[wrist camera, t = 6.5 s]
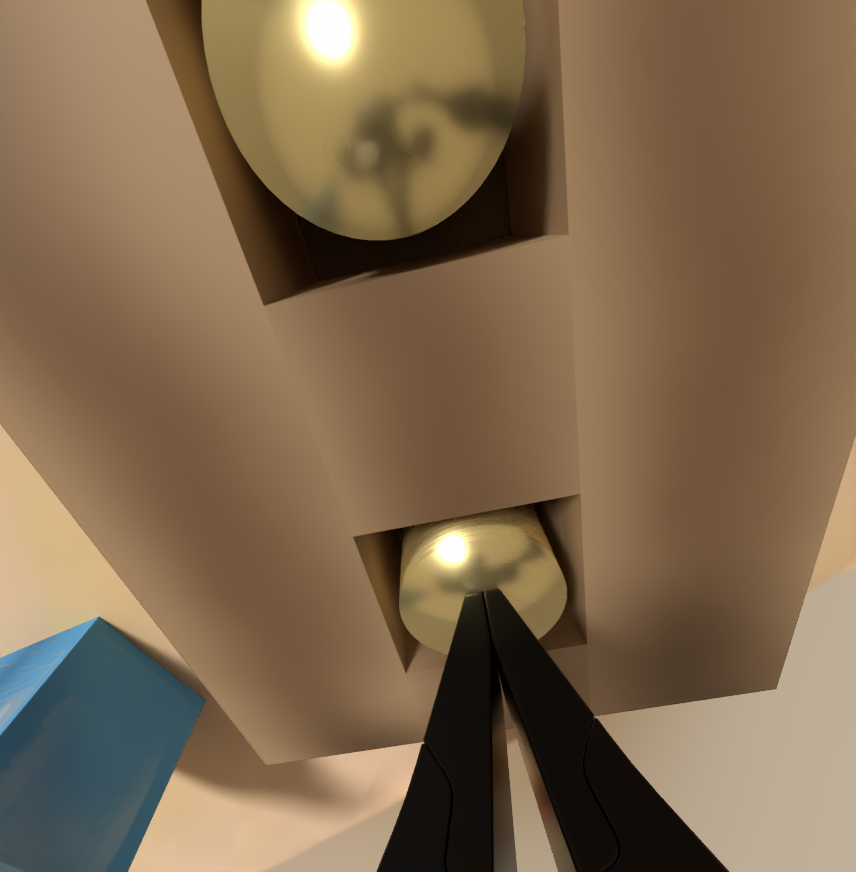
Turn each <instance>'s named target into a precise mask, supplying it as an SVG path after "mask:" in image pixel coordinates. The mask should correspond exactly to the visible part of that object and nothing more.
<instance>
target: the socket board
mask: <svg viewBox="0 0 856 872" xmlns="http://www.w3.org/2000/svg"><path fill="white" fill-rule="evenodd" d="M523 8H524V16H525V38H526V52H525V66H524V77H523V83H522V89H521V95H520V100H519V104H518V108H517V112H516V115H515V119H514V122H513V126H512V128H511V131H510V133H509V136H508V138H507V141H506V143H505V146H504V148H503V151H504V160H505V170H506V180H507V189H508V199H509V209H510V219H511V228H512V236H510V237H506V238H501V239H497V240H493V241H488V242H484V243H480V244H476V245H471V246H467V247H463V248H459V249H454V250H450V251H446V252H442V253H437V254H433V255H429V256H425V257H420V258H416V259H412V260H408V261H403V262H399V263H395V264H391V265H386V266H382V267H378V268H374V269H369V270H365V271H361V272H357V273H352V274H348V275H344V276H340V277H335V278H331V279H327V280H323V281H318V282H317V279H316V275H315V272H314V269H313V266H312V263H311V260H310V257H309V253H308V250H307V247H306V244H305V241H304V238H303V235H302V231H301V228H300V225H299V222H298V219H297V216H296V213H295V212H294V211H293V210H292V209H290V208H289V207H288V206H287V205H285V204H284V203H283V202H282V201H281V200H280V199H279V198H278V197H277V196H275V195H274V194H273V193H272V192H271V191H270V190H269V189H268V188H267V187H266V185H265V184H264V183H263V182H262V181H261V179H260V178H259V177H258V176H257V175H256V173H255V172H254V171H253V170H252V168H251V167H250V165H249V164H248V162H247V161H246V159H245V158H244V156H243V155H242V153H241V152H240V150H239V148H238V146H237V144H236V143H235V141H234V139H233V137H232V135H231V133H230V131H229V129H228V127H227V125H226V122H225V120H224V118H223V115H222V113H221V110H220V108H219V105H218V103H217V99H216V96H215V93H214V89H213V86H212V83H211V80H210V75H209V70H208V65H207V60H206V55H205V51H204V41H203V31H202V0H0V424H1V425H2V427H3V428H4V429H5V431H6V432H7V433H8V434H9V436H10V437H11V438H12V440H13V441H14V442H15V443H16V445H17V446H18V447H19V449H20V450H21V451H22V452H23V454H24V455H25V456H26V458H27V459H28V460H29V461H30V463H31V464H32V465H33V467H34V468H35V469H36V470H37V472H38V473H39V474H40V476H41V477H42V478H43V479H44V481H45V482H46V483H47V485H48V486H49V487H50V488H51V490H52V491H53V492H54V494H55V495H56V496H57V497H58V499H59V500H60V501H61V503H62V504H63V505H64V506H65V508H66V509H67V510H68V511H69V513H70V514H71V515H72V517H73V518H74V519H75V520H76V522H77V523H78V524H79V526H80V527H81V528H82V529H83V531H84V532H85V533H86V535H87V536H88V537H89V538H90V540H91V541H92V542H93V544H94V545H95V546H96V547H97V549H98V550H99V551H100V553H101V554H102V555H103V556H104V558H105V559H106V560H107V562H108V563H109V564H110V565H111V567H112V568H113V569H114V571H115V572H116V573H117V574H118V576H119V577H120V578H121V580H122V581H123V582H124V583H125V585H126V586H127V587H128V589H129V590H130V591H131V592H132V594H133V595H134V596H135V598H136V599H137V600H138V601H139V603H140V604H141V605H142V607H143V608H144V609H145V610H146V612H147V613H148V614H149V615H150V617H151V618H152V619H153V621H154V622H155V623H156V624H157V626H158V627H159V628H160V630H161V631H162V632H163V633H164V635H165V636H166V637H167V639H168V640H169V641H170V642H171V644H172V645H173V646H174V648H175V649H176V650H177V651H178V653H179V654H180V655H181V657H182V658H183V659H184V660H185V662H186V663H187V664H188V666H189V667H190V668H191V669H192V671H193V672H194V673H195V675H196V676H197V677H198V678H199V680H200V681H201V682H202V684H203V685H204V686H205V687H206V689H207V690H208V691H209V693H210V694H211V695H212V696H213V698H214V699H215V700H216V702H217V703H218V704H219V705H220V707H221V708H222V709H223V711H224V712H225V713H226V714H227V716H228V717H229V718H230V719H231V721H232V722H233V723H234V725H235V726H236V727H237V728H238V730H239V731H240V732H241V734H242V735H243V736H244V737H245V739H246V740H247V741H248V743H249V744H250V745H251V746H252V748H253V749H254V750H255V752H256V753H257V754H258V755H259V757H260V758H261V759H262V761H263V762H264V763H265V764H266V765H272V764H279V763H285V762H292V761H299V760H305V759H312V758H319V757H325V756H332V755H339V754H345V753H352V752H359V751H365V750H372V749H379V748H385V747H392V746H399V745H405V744H412V743H419V742H423V739H424V735H425V732H426V729H427V725H428V722H429V718H430V715H431V711H432V708H433V704H434V701H435V697H436V694H437V690H438V687H439V683H440V680H441V677H442V673H443V670H444V666H445V663H446V659H447V656H448V655H447V654H444V653H441V652H438V651H435V650H433V649H431V648H429V647H427V646H425V645H424V644H422V643H421V642H419V641H418V640H417V639H416V638H415V637H414V636H413V635H412V634H411V633H410V632H409V631H408V629H407V628H406V626H405V625H404V623H403V620H402V618H401V614H400V609H399V595H400V572H401V549H402V546H401V543H400V540H399V536H398V533H397V530H396V529H397V528H402V527H407V526H413V525H418V524H423V523H429V522H434V521H439V520H445V519H450V518H455V517H461V516H466V515H471V514H476V513H482V512H487V511H492V510H498V509H503V508H508V507H514V506H519V505H524V504H530V503H535V502H540V509H541V519H542V528H543V530H544V533H545V535H546V537H547V539H548V542H549V544H550V546H551V549H552V551H553V553H554V555H555V558H556V560H557V562H558V565H559V567H560V569H561V571H562V574H563V576H564V579H565V582H566V587H567V600H566V605H565V607H564V610H563V613H562V614H561V616H560V618H559V620H558V621H557V622H556V624H555V625H554V626H553V627H552V628H551V629H550V630H549V631H548V632H547V633H546V634H545V635H544V636H542V637H541V638H540V639H538V640H539V642H540V643H541V644H542V646H543V647H544V648H545V650H546V651H547V652H548V654H549V655H550V656H551V658H552V659H553V660H554V662H555V663H556V664H557V666H558V667H559V668H560V670H561V671H562V672H563V674H564V675H565V676H566V678H567V679H568V680H569V682H570V683H571V684H572V686H573V687H574V688H575V690H576V691H577V692H578V694H579V695H580V696H581V698H582V699H583V700H584V702H585V703H586V704H587V706H588V707H589V708H590V710H591V711H592V712H593V714H594V716H599V715H605V714H612V713H618V712H625V711H632V710H638V709H646V708H652V707H659V706H665V705H672V704H679V703H686V702H692V701H699V700H706V699H712V698H719V697H725V696H732V695H739V694H745V693H752V692H759V691H766V690H772V689H776V688H777V684H778V681H779V678H780V675H781V672H782V668H783V665H784V662H785V659H786V656H787V652H788V649H789V646H790V643H791V640H792V636H793V633H794V630H795V627H796V624H797V621H798V617H799V614H800V611H801V608H802V605H803V601H804V598H805V595H806V592H807V589H808V585H809V582H810V579H811V576H812V573H813V569H814V566H815V563H816V560H817V557H818V554H819V550H820V547H821V544H822V541H823V538H824V534H825V531H826V528H827V525H828V522H829V518H830V515H831V512H832V509H833V506H834V502H835V499H836V496H837V493H838V490H839V486H840V483H841V480H842V477H843V474H844V470H845V467H846V464H847V461H848V458H849V455H850V451H851V448H852V445H853V442H854V439H855V435H856V0H523ZM499 678H500V677H499ZM500 683H501V681H500ZM501 689H502V686H501ZM502 698H503V708H504V720H505V729H512V728H514V727H513V724H512V721H511V717H510V714H509V711H508V708H507V704H506V701H505V698H504V694H503V690H502Z"/></svg>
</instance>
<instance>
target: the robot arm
mask: <svg viewBox="0 0 856 872" xmlns="http://www.w3.org/2000/svg"><path fill="white" fill-rule="evenodd" d="M499 677H500V678H499ZM500 681H501V683H500ZM501 686H502V689H501ZM502 690H503V694H504V698H505V701H506V704H507V708H508V711H509V714H510V717H511V721H512V724H513V727H514V730H515V733H516V737H517V740H518V743H519V746H520V750H521V753H522V756H523V759H524V762H525V766H526V769H527V772H528V775H529V779H530V782H531V785H532V788H533V792H534V794H535V798H536V801H537V804H538V808H539V811H540V814H541V817H542V821H543V824H544V827H545V830H546V833H547V837H548V840H549V843H550V846H551V850H552V853H553V856H554V859H555V862H556V866H557V868H558V872H729V871H728V870H727V869H726V868H725V866H724V865H723V864H722V863H721V862H720V861H719V860H718V859H717V858H716V857H715V855H714V854H713V853H712V852H711V851H710V850H709V849H708V848H707V847H706V846H705V845H704V843H703V842H702V841H701V840H700V839H699V838H698V837H697V836H696V835H695V833H694V832H693V831H692V830H691V829H690V828H689V827H688V826H687V825H686V824H685V823H684V822H683V820H682V819H681V818H680V817H679V816H678V815H677V814H676V813H675V812H674V810H673V809H672V808H671V807H670V806H669V805H668V804H667V803H666V802H665V801H664V799H663V798H662V797H661V796H660V795H659V794H658V793H657V792H656V791H655V789H654V788H653V787H652V786H651V785H650V784H649V782H648V781H647V780H646V779H645V778H644V777H643V776H642V774H641V773H640V772H639V771H638V770H637V769H636V768H635V766H634V765H633V764H632V763H631V761H630V760H629V759H628V758H627V756H626V755H625V754H624V753H623V751H622V750H621V749H620V748H619V746H618V745H617V744H616V742H615V741H614V740H613V739H612V737H611V736H610V735H609V733H608V732H607V731H606V729H605V728H604V727H603V725H602V724H601V723H600V721H599V720H598V719H597V718H595V717H594V714H593V712H592V711H591V710H590V708H589V707H588V706H587V704H586V703H585V702H584V700H583V699H582V698H581V696H580V695H579V694H578V692H577V691H576V690H575V688H574V687H573V686H572V684H571V683H570V682H569V680H568V679H567V678H566V676H565V675H564V674H563V672H562V671H561V670H560V668H559V667H558V666H557V664H556V663H555V662H554V660H553V659H552V658H551V656H550V655H549V654H548V652H547V651H546V650H545V648H544V647H543V646H542V644H541V643H540V642H539V640H538V639H537V638H536V636H535V635H534V634H533V632H532V631H531V630H530V628H529V627H528V626H527V624H526V623H525V622H524V620H523V619H522V618H521V616H520V615H519V614H518V612H517V611H516V610H515V608H514V607H513V606H512V604H511V603H510V602H509V600H508V599H507V598H506V596H505V595H504V594H503V592H502V591H501V590H500V589H492V590H486V591H484V592H483V594H482V593H481V592H475V593H469V594H466V595H465V597H464V600H463V604H462V607H461V611H460V614H459V618H458V621H457V625H456V628H455V631H454V635H453V638H452V642H451V645H450V649H449V652H448V656H447V659H446V663H445V666H444V670H443V673H442V677H441V680H440V683H439V687H438V690H437V694H436V697H435V701H434V704H433V708H432V711H431V715H430V718H429V722H428V725H427V729H426V732H425V735H424V739H423V742H424V744H422V745H421V749H420V752H419V756H418V759H417V763H416V766H415V769H414V772H413V775H412V778H411V782H410V785H409V788H408V791H407V794H406V797H405V800H404V802H403V805H402V808H401V811H400V813H399V816H398V819H397V821H396V824H395V827H394V829H393V832H392V834H391V837H390V839H389V842H388V844H387V847H386V849H385V852H384V854H383V857H382V859H381V862H380V864H379V867H378V869H377V872H517V864H516V851H515V840H514V827H513V816H512V803H511V791H510V780H509V768H508V757H507V744H506V732H505V720H504V708H503V698H502Z"/></svg>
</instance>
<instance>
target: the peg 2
mask: <svg viewBox="0 0 856 872" xmlns="http://www.w3.org/2000/svg"><path fill="white" fill-rule="evenodd" d="M492 589H500V590H501V591H502V592H503V594H504V595H505V596H506V598H507V599H508V600H509V602H510V603H511V604H512V606H513V607H514V608H515V610H516V611H517V612H518V614H519V615H520V616H521V618H522V619H523V620H524V622H525V623H526V624H527V626H528V627H529V628H530V630H531V631H532V632H533V634H534V635H535V636H536V638H537V639H540V638H541V637H542V636H544V635H545V634H546V633H547V632H548V631H549V630H550V629H551V628H552V627H553V626H554V625H555V624H556V622H557V621H558V620H559V618H560V616H561V614H562V613H563V610H564V607H565V605H566V600H567V587H566V582H565V579H564V576H563V574H562V571H561V569H560V567H559V565H558V562H557V560H556V558H555V555H554V553H553V551H552V549H551V546H550V544H549V542H548V539H547V537H546V535H545V533H544V530H543V528H542V526H541V524H540V521H539V519H538V517H537V514H536V512H535V510H534V508H533V505H532V503H530V504H524V505H519V506H514V507H508V508H503V509H498V510H492V511H487V512H482V513H476V514H471V515H466V516H461V517H455V518H450V519H445V520H439V521H434V522H429V523H423V524H418V525H413V526H407V527H402V549H401V572H400V595H399V609H400V614H401V618H402V620H403V623H404V625H405V626H406V628H407V629H408V631H409V632H410V633H411V634H412V635H413V636H414V637H415V638H416V639H417V640H418V641H419V642H421V643H422V644H424V645H425V646H427V647H429V648H431V649H433V650H435V651H438V652H441V653H444V654H447V655H448V652H449V649H450V645H451V642H452V638H453V635H454V631H455V628H456V625H457V621H458V618H459V614H460V611H461V607H462V604H463V600H464V597H465V595H466V594H469V593H475V592H481V593H482V594H483V592H484V591H486V590H492Z"/></svg>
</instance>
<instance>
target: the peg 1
mask: <svg viewBox="0 0 856 872" xmlns="http://www.w3.org/2000/svg"><path fill="white" fill-rule="evenodd" d="M202 31H203V41H204V51H205V55H206V60H207V65H208V70H209V75H210V80H211V83H212V86H213V89H214V93H215V96H216V99H217V103H218V105H219V108H220V110H221V113H222V115H223V118H224V120H225V122H226V125H227V127H228V129H229V131H230V133H231V135H232V137H233V139H234V141H235V143H236V144H237V146H238V148H239V150H240V152H241V153H242V155H243V156H244V158H245V159H246V161H247V162H248V164H249V165H250V167H251V168H252V170H253V171H254V172H255V173H256V175H257V176H258V177H259V178H260V179H261V181H262V182H263V183H264V184H265V185H266V187H267V188H268V189H269V190H270V191H271V192H272V193H273V194H274V195H275V196H277V197H278V198H279V199H280V200H281V201H282V202H283V203H284V204H285V205H287V206H288V207H289V208H290V209H292V210H293V211H294V212H296V213H297V214H298V215H300V216H301V217H303V218H305V219H306V220H308V221H310V222H311V223H313V224H315V225H317V226H319V227H321V228H324V229H326V230H328V231H331V232H333V233H336V234H339V235H343V236H347V237H350V238H356V239H364V240H393V239H401V238H407V237H411V236H414V235H417V234H420V233H422V232H424V231H426V230H428V229H430V228H432V227H433V226H435V225H437V224H438V223H440V222H441V221H443V220H444V219H446V218H447V217H449V216H450V215H452V214H453V213H454V212H455V211H457V210H458V209H459V208H460V207H461V206H462V205H463V204H464V203H466V202H467V201H468V200H469V199H470V198H471V196H472V195H473V194H474V193H475V192H476V191H477V190H478V188H479V187H480V186H481V185H482V183H483V182H484V180H485V179H486V178H487V176H488V175H489V173H490V172H491V170H492V169H493V167H494V165H495V163H496V162H497V160H498V158H499V156H500V154H501V152H502V150H503V148H504V146H505V143H506V141H507V138H508V136H509V133H510V131H511V128H512V126H513V122H514V119H515V115H516V112H517V108H518V104H519V100H520V95H521V89H522V83H523V77H524V66H525V52H526V38H525V16H524V8H523V0H202Z"/></svg>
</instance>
